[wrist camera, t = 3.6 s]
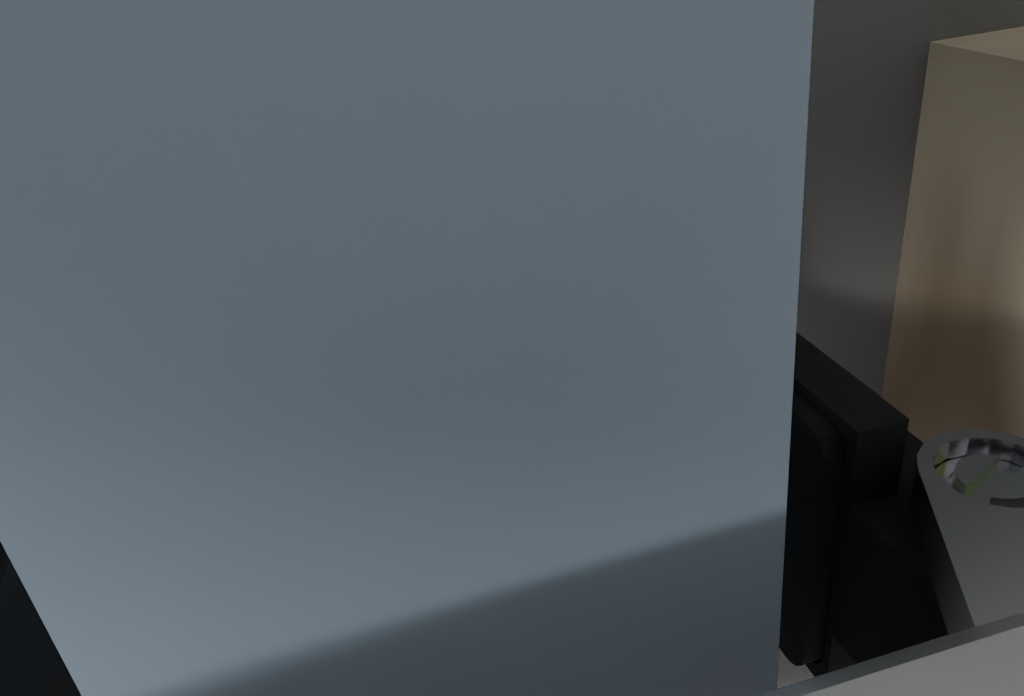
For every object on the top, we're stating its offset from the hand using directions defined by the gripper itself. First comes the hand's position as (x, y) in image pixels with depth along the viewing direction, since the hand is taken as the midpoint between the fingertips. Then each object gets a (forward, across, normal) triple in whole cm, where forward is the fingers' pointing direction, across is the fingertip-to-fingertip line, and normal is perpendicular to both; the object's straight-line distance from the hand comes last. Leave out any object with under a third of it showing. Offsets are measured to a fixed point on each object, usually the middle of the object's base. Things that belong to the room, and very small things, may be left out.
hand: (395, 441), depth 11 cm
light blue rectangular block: (+2, 0, 0) cm, 2 cm away
